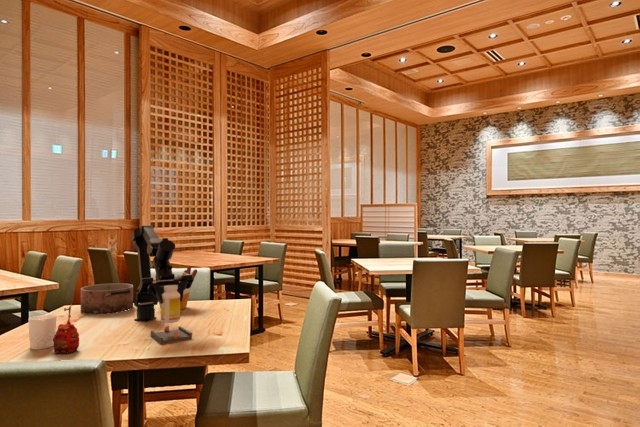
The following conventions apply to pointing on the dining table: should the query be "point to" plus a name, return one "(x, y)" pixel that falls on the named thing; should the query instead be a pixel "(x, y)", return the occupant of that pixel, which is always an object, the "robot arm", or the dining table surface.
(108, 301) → the cooking pot
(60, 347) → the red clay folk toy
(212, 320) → the dining table surface
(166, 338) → the tray
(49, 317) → the white cup
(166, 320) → the supplement bottle
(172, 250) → the robot arm
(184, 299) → the bucket of meat
